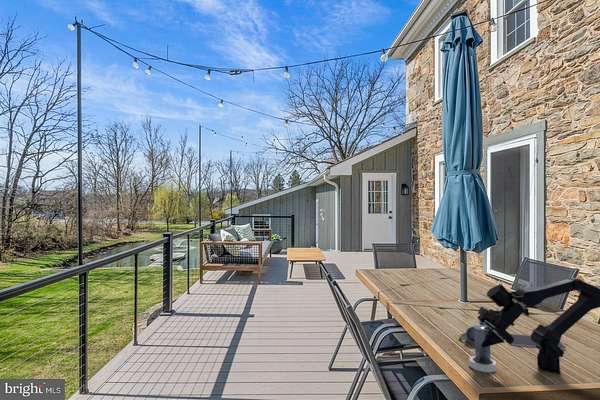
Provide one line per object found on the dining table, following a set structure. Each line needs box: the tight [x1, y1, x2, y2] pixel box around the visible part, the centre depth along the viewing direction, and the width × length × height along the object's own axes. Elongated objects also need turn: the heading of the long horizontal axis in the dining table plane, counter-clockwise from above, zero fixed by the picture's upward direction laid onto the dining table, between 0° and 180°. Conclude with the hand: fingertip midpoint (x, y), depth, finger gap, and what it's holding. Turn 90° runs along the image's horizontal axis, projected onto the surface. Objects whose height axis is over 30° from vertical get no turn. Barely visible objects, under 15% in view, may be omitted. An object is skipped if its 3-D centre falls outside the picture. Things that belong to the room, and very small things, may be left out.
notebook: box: [509, 333, 566, 351], centre depth 161 cm, size 13×2×21 cm
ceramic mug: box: [458, 323, 479, 345], centre depth 164 cm, size 11×8×8 cm
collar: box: [468, 355, 497, 374], centre depth 136 cm, size 9×9×2 cm
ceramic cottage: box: [512, 281, 538, 307], centre depth 228 cm, size 16×16×15 cm
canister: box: [474, 324, 492, 364], centre depth 136 cm, size 5×5×13 cm
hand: (478, 343), depth 136 cm, fingers closed on canister, 5 cm apart
